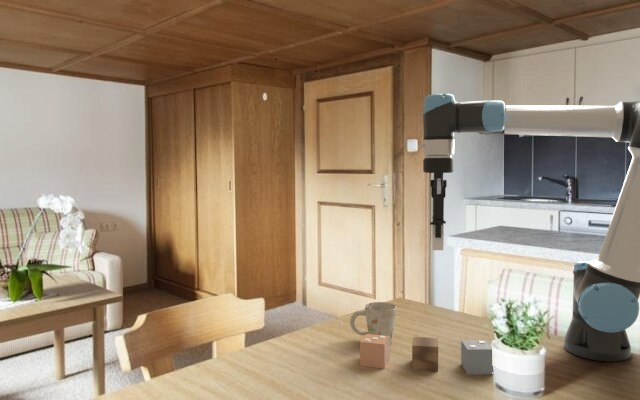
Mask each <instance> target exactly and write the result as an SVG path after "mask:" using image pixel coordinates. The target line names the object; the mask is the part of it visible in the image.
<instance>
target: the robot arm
mask: <svg viewBox="0 0 640 400" xmlns="http://www.w3.org/2000/svg"><path fill="white" fill-rule="evenodd" d="M422 116H423V119H422V120H423V121H422V122H423V143H421V144H420V147H421V148H422V149H423V156H425V157H424V158H423V161H422V164H423V168H422V169H423V172H424V173H426V174H433V178H432V179H430V181H429V182H430V185H429V186H430V188H431V189H430V191H431V192H430V195H431V198H432V221H430V223H429V224H430V225H431V226H432V242H431V243H432V245H431V246H432V247H431V248H432V249H431V250H432V251H444V235H445V233H444V226H445V225H444V224H446V223H447V221H446V220H445V219H444V213H445V210H444V209H445V208H444V207H445V203H444V202H445V198H446V188H447V185H448V184H447V182H448V181H447V179H444V174H450V173H454V170H455V159H454V157H453V156H454V155H455V133H477V134H480V135H523V136H524V135H525V136H527V135H529V136H554V137H555V136H556V137H558V136H559V137H585V138H586V137H589V138H591V137H592V138H593V137H594V138H612V139H613V140H614V141H615V142H617V143H618V142H619V143H629V144H628V146H627V149H628V151H629V153H630V154H631V156H632V158H631V161H630V165H629V167H628V170H627V173H626V176H625V178H624V181H623V183H622V184H623V185H622V188H621V191H620V193H619V196H618V200H617V202H616V205H615V209H614V211H613V214H612V217H611V219H610V221H609V222H610V223H609V226H608V228H607V231H606V235H605V237H604V240H603V243H602V246H601V249H600V251H599V255H598V257H597V258H596V259H594V260H579V261H576V262H575V263H574V266H573V271H572V274H573V291H572V317H571V321H570V323H569V324H568V327H567V331H566V333H565V335H564V338H563V339H564V340H563V341H564V342H563V343H564V344H563V345H564V346H563V347H564V349H565V350H566V351H568V352H569V353H570V354H572V355H575V356H576V357H580V358H584V359H587V360H593V361H600V362H622V361H626V360H628V359H631V356H632V353H631V351H632V347H631V343H630V340H629V336H628V334H627V331H626V330H627V329H629V328H630V327H631V326H633V324H634V323H635V322H636V321H637V319H638V316H639V311H640V303H639V298H640V100H637V101H619V103H618V104H616V105H522V104H521V105H518V104H517V105H510V104H509V105H506V103H505V102H504V101H503V100H500V99H499V100H497V99H496V100H494V99H493V100H492V99H488V100H476V101H475V100H474V101H473V100H472V101H456V99H455V96H454V95H453V94H451V93H434V94H428V95H427V96H425V98H424V101H423V113H422Z"/></svg>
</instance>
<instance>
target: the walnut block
mask: <svg viewBox="0 0 640 400" xmlns="http://www.w3.org/2000/svg"><path fill="white" fill-rule="evenodd" d="M438 339H439V338H438V337H421V336H413V337H412V343H411V370H412V371H424V372H425V371H426V372H437V373H438V372H439V340H438Z"/></svg>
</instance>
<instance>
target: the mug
mask: <svg viewBox="0 0 640 400" xmlns="http://www.w3.org/2000/svg"><path fill="white" fill-rule="evenodd" d="M396 313H397V306H396V305H395V304H394V303H390V302H385V301H376V302H374V301H373V302H369V303H366V304H365V306H364V310H357V311H355V312H353V314H351V316H350V319H349V325H350V327H351V329H352V330H353V331H354V333H356V334H357V335H361V336H365V335H366V334H374V335H384V336H390V345H391V344H392V343H393V336H394V328H395V320H396ZM359 316H363V317H364V316H365V318H366V319H365V320H366V328H367V331H362V330H361V331H360V330H359V329H358V328H357V326H356V323H355V321H356V319H357V318H358V317H359Z"/></svg>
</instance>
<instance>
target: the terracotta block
mask: <svg viewBox="0 0 640 400" xmlns="http://www.w3.org/2000/svg"><path fill="white" fill-rule="evenodd" d="M390 360H391V344H390V336H384V335H374V334H366V335H363V337H362V338H361V340H360V342H359V364H360V365H359V366H362V367H368V368H369V367H370V368H378V369H386V367H387V365H388V363H389V362H390Z"/></svg>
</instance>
